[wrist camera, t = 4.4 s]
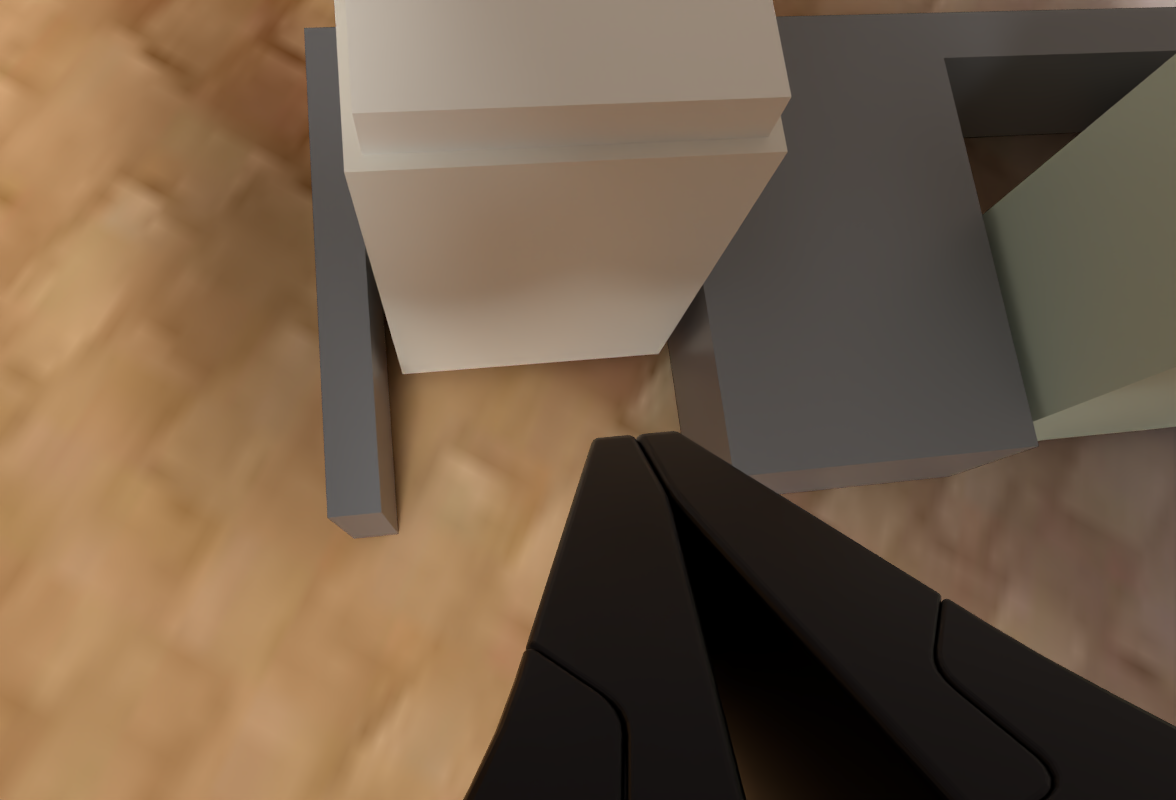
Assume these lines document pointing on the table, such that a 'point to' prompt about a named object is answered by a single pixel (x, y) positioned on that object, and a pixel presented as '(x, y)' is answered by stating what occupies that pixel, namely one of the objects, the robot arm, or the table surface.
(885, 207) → the gray two-slot stand
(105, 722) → the table surface
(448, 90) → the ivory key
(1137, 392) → the pale green rectangular block
